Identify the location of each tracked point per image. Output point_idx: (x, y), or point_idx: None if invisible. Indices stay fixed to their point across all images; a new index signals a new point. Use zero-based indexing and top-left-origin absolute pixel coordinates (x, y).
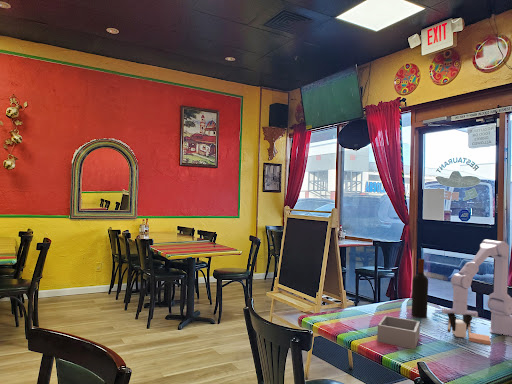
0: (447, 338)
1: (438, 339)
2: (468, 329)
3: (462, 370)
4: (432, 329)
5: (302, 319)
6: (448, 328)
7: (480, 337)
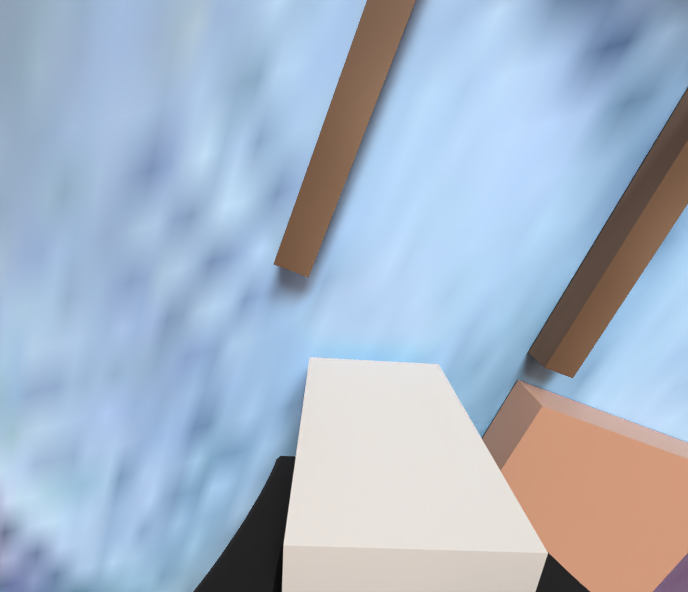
0: (191, 530)
1: (80, 578)
2: (662, 188)
3: None
4: (50, 217)
5: None
6: (302, 221)
7: (576, 560)
